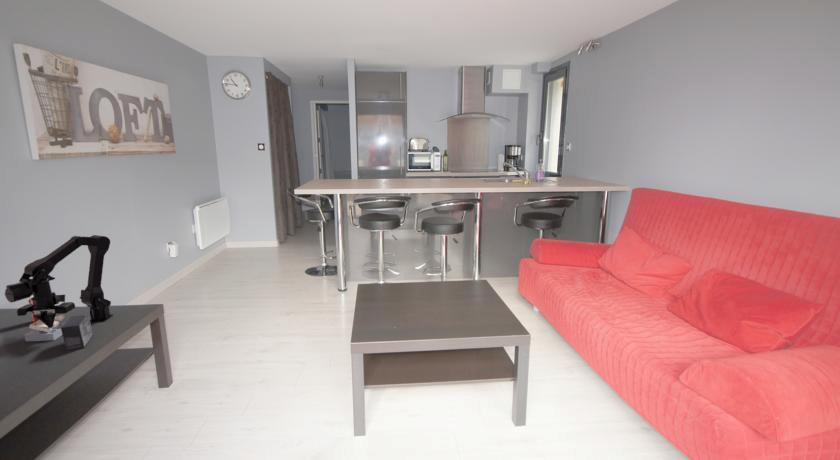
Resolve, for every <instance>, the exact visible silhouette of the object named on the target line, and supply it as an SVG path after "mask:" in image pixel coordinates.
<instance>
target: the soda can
mask: <svg viewBox="0 0 840 460" xmlns="http://www.w3.org/2000/svg"><path fill="white" fill-rule="evenodd" d="M31 298H33V295H31V297H28V304H35V301H34V300H33V301H31ZM30 313H31V317H32V321H33V322H32V323H34V322H37V321H38V320H39V319H38V318H36V317H33V315H35V314H34V312H30Z"/></svg>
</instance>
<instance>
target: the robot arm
mask: <svg viewBox="0 0 840 460" xmlns="http://www.w3.org/2000/svg"><path fill="white" fill-rule="evenodd" d="M82 246H87V249H88V251H89V254H90V258H89V259H90V261H89V271H88V279H87V286H86V287H85V288H84V289H81V290H80V297H79V299H80V300H81V303H82V304H83V305H86V307H88V308H89V311H88V312H89V317H90V322H92V323H93V322H94V323H95V322H105V321H107V320H108V319H110V318H111V317H112V316H113V315H114V314H112V313H111V311H110V306H111V304H112V302H111V300H108V299H106V298H105V294H104V290H103V288H102V278H103V272H104V271H103V270H104V268H103V267H104V260H105V255H106V253H107V252H108V251H109V249H110V246H111V240H110V238H109V237H107V236H105V235H97V234H93V235H91V236H81V235H73V236H71V237H70V238H69V240H67V241H66V242H64V243H62V244H61V245H60V246H59V247H57V248H56V249H54V250H53V251H52V252H50V253H49V254H48V255H46V256H44V257H42V258H39V259H36V260H34V261H33V262H30V263H28V264H27V265H26V266H25V267H24V270H23V274H22V275H21V277H20V279H19V281H18V282H16V283H12V284H8V285H6V286H5V287H6V288H5V290H4V296H5V298H6V300H7V301H8V302H9V303H15V302H18V301H22V300H24V299H29V297H31V296H33V298H31V301H33V300H34V301H35V304H29V303H27V304H25V305H23V306H20V307H19V308H17V310H16V314H17V317H20V316H21V317H22V316H26V315H27V314H28V313H31V312H34V314H35V315H33V317H36V318H38V319H39V320H41V321H42V322H43V323H44V324H45V325H47V326H48V327H49V328H52V327H53V324H54V319H55V317H57V316H56V315H57V314H58V315H64V314H67V313H68V312H69V313H70V312H71V311H72V310H73V309H75V308H76V305H75V303H74V302H73V301H69V302H66V294H56V293H55V292H54V291H53V292H52V288H51V284H50V281H54V280H55V279H56V277H54V276H51V275H50V274H51V273H52V272H53V271H54V269H55V267H56V266H57V264H59V263H60V262H62V261H63V260H64V259H65V258H67V257H68V256H69V255H71V254H72V253H73V252H75V251H76V250H77V249H79V248H80V247H82ZM61 302H62V303H61ZM59 303H60V304H59ZM58 304H59V305H58Z"/></svg>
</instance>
